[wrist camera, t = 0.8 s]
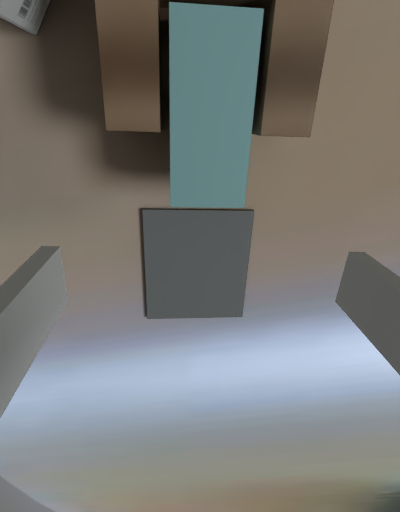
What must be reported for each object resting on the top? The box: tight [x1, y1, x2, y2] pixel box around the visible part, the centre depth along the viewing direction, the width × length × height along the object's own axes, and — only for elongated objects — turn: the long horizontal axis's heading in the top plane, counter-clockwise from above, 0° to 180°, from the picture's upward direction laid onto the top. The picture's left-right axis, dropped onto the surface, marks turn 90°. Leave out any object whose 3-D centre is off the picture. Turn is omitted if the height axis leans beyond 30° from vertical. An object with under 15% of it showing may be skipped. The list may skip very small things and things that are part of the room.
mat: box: [142, 209, 254, 319], centre depth 36 cm, size 14×12×1 cm
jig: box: [95, 0, 334, 137], centre depth 22 cm, size 16×15×8 cm
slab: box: [169, 2, 264, 208], centre depth 24 cm, size 13×6×4 cm, turn 178°
